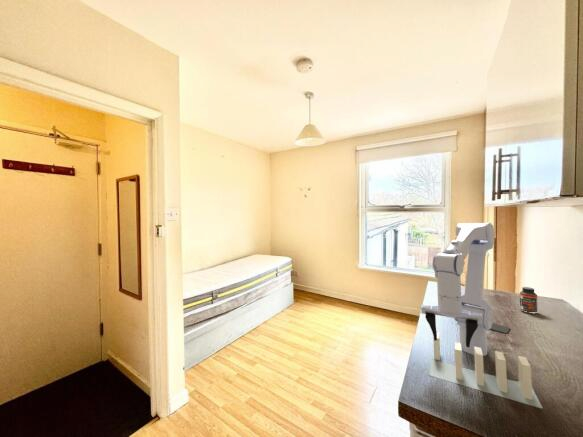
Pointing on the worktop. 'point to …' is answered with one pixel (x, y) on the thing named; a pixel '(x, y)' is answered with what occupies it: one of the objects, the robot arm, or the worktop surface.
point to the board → (490, 385)
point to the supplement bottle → (528, 300)
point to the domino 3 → (501, 371)
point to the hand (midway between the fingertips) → (451, 342)
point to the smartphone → (500, 328)
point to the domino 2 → (479, 366)
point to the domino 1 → (458, 361)
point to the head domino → (437, 347)
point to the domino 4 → (525, 377)
